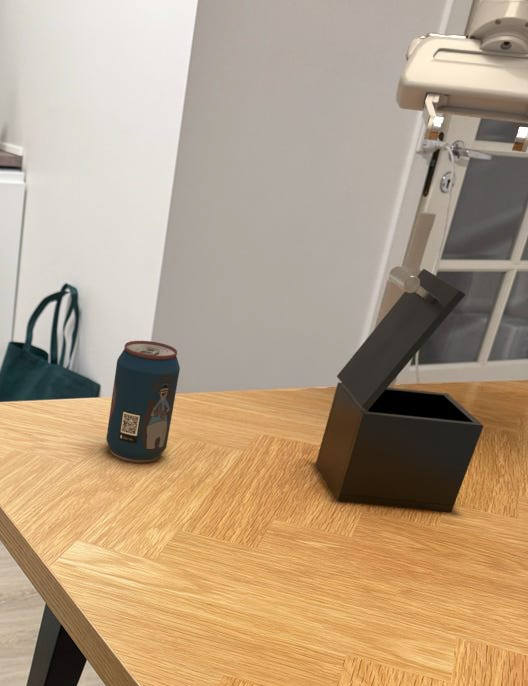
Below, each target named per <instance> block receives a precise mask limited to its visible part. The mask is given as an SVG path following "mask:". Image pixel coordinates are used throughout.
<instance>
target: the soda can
mask: <svg viewBox="0 0 528 686" xmlns="http://www.w3.org/2000/svg"><path fill="white" fill-rule="evenodd" d="M180 371H181V367H180V364H179V361H178V350H177V349H176V348H175V347H173V346H171V345H169V344H165V343H162V342H158V341H150V340H130V341H127V342H125V344H124V349H123V350H122V352H121V353H120V354H119V356H118V358H117V360H116V366H115V372H114V373H115V374H114V380H113V387H112V394H111V401H110V410H109V416H108V424H107V430H106V443H107V445H108V448H109V450H110V452H111V454H112V455H113V456H114V457H116V458H118V459H120V460H124V461H126V462H131V463H150V462H154V461H156V460H158V459H159V458H160V456H162V454H163V453H164V451H165V450H166V449H167V446H168V440H169V433H170V428H171V423H172V417H173V410H174V404H175V399H176V394H177V387H178V382H179V377H180V376H179V375H180Z"/></svg>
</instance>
